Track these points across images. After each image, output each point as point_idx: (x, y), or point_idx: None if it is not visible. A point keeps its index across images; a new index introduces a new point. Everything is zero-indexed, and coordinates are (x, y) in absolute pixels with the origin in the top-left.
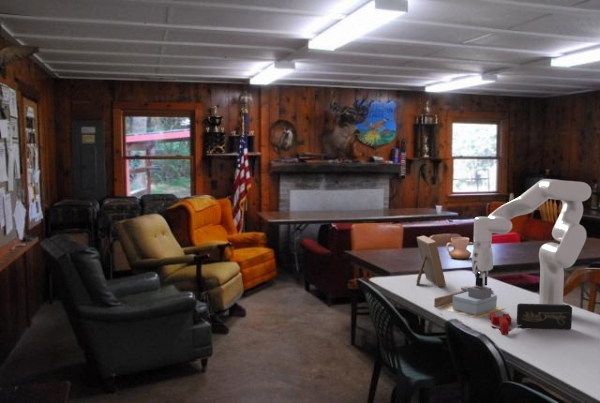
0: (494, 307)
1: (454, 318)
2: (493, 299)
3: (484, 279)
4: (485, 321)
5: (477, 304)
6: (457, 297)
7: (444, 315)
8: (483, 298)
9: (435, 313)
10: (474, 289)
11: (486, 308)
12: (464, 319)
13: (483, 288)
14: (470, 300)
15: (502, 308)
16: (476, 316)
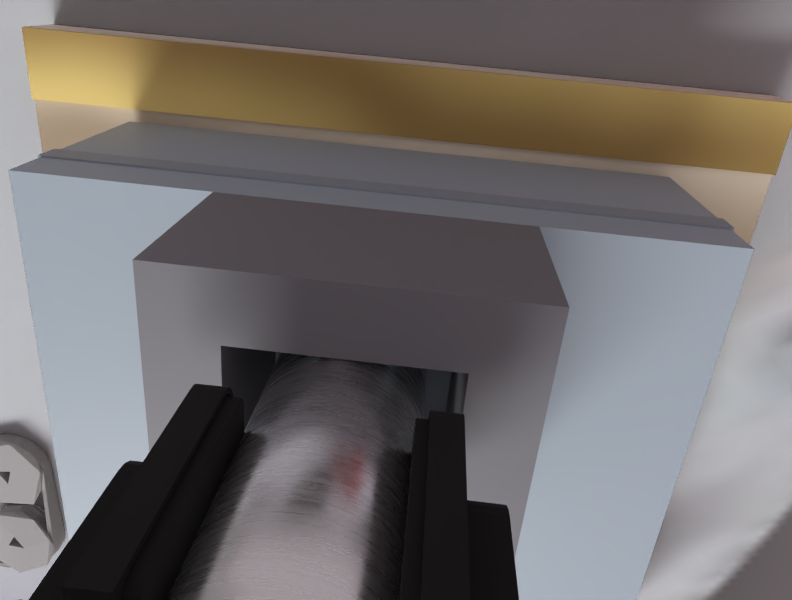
0: (171, 130)
1: (789, 358)
2: (153, 165)
3: (285, 546)
4: (676, 8)
5: (687, 220)
6: (641, 569)
7: (736, 477)
8: (493, 226)
9: (720, 562)
10: (525, 492)
11: (390, 159)
12: (758, 258)
13: (367, 371)
14: (711, 361)
15: (44, 57)
16: (722, 141)
